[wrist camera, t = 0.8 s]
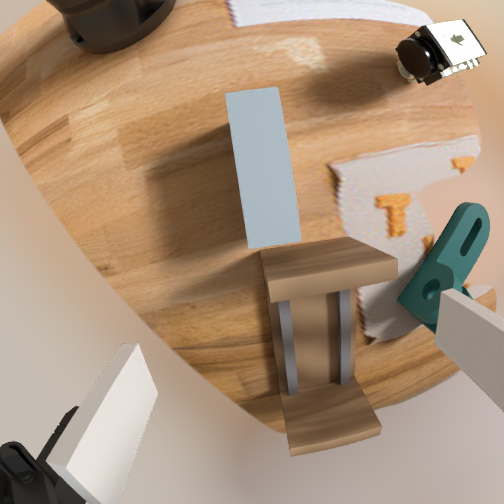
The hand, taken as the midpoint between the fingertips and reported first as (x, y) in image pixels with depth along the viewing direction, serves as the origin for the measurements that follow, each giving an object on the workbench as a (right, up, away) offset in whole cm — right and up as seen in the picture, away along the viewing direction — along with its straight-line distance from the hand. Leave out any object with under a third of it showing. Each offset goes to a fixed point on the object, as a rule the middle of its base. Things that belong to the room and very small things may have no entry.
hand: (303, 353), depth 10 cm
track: (+5, -5, +22) cm, 23 cm away
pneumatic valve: (+19, +27, +16) cm, 36 cm away
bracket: (+24, +3, +21) cm, 32 cm away
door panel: (-1, +12, +18) cm, 22 cm away
